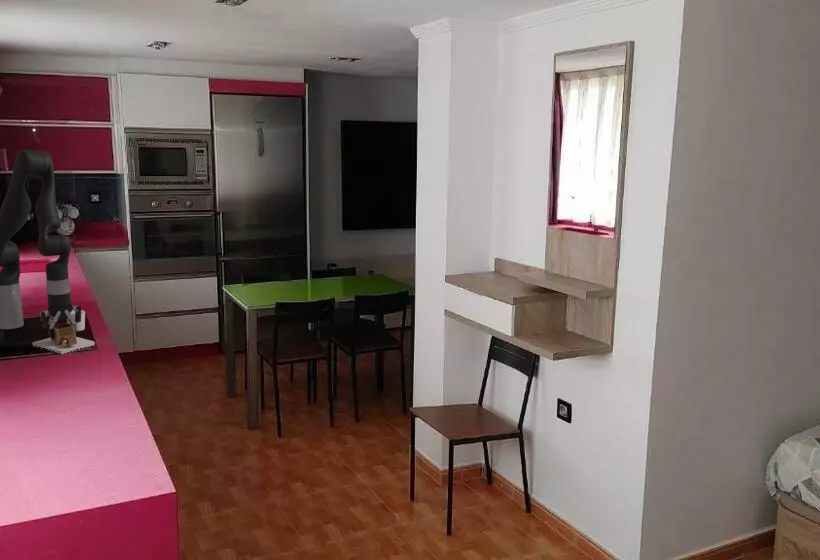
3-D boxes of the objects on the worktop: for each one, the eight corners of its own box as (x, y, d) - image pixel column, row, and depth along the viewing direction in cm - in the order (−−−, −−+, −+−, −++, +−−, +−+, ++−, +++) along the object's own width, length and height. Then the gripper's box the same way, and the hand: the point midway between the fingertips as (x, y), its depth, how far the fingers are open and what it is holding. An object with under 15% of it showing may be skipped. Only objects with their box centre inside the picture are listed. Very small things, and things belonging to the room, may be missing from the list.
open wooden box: (50, 339, 261) (49, 326, 260) (68, 335, 266) (67, 322, 265) (64, 346, 254) (62, 333, 252) (82, 342, 258) (81, 329, 257)
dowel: (61, 347, 256) (60, 340, 255) (65, 346, 257) (65, 339, 257) (64, 348, 255) (63, 341, 255) (68, 347, 256) (67, 340, 256)
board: (32, 345, 261) (32, 342, 261) (65, 336, 272) (65, 333, 271) (61, 354, 252) (61, 351, 252) (94, 344, 263) (94, 341, 263)
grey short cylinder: (79, 332, 278) (77, 314, 276) (63, 331, 279) (61, 313, 277) (90, 327, 284) (88, 310, 283) (74, 326, 286) (73, 308, 284)
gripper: (75, 286, 265) (78, 330, 269) (33, 292, 255) (37, 338, 259) (83, 290, 260) (87, 334, 264) (41, 296, 250) (45, 342, 254)
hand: (62, 336), depth 261 cm, fingers closed on open wooden box, 6 cm apart
